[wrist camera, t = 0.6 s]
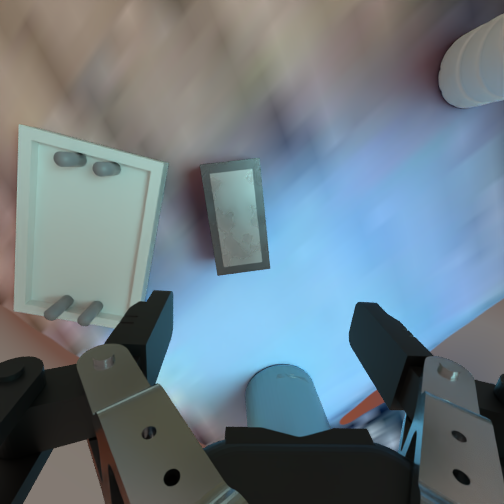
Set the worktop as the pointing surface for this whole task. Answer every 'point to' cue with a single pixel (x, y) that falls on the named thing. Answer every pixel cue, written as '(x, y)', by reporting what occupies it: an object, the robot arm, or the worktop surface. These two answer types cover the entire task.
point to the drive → (236, 215)
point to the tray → (83, 227)
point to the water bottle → (475, 67)
